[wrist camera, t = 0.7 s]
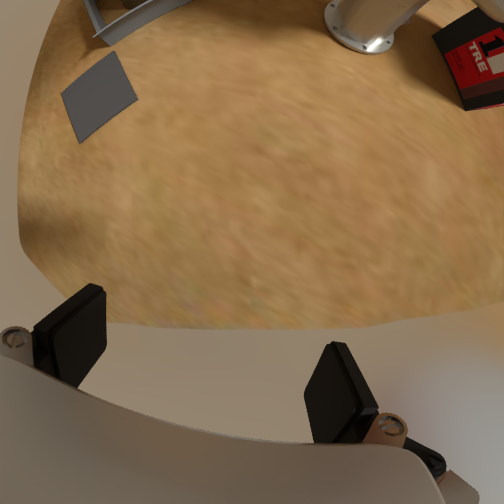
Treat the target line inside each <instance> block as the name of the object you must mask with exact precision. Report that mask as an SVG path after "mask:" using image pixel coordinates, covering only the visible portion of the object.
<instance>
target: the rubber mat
mask: <svg viewBox="0 0 504 504" xmlns="http://www.w3.org/2000/svg"><path fill="white" fill-rule="evenodd" d="M61 94H62V97H63V100H64V103H65V106H66V109H67V112H68V115H69V117H70V120H71V123H72V125H73V128H74V131H75V133H76V136H77V138H78V141H79V143H82V142H83V141H84V140H86V139H87V138H88V137H89V136H90V135H91V134H93V133H94V132H95V131H96V130H98V129H99V128H100V127H101V126H103V125H104V124H105V123H106V122H108V121H109V120H110V119H112V118H113V117H114V116H116V115H117V114H118V113H120V112H121V111H123V110H124V109H125V108H127V107H128V106H130V105H131V104H132V103H134V102H135V101H137V100H138V98H137V96H136V94H135V92H134V90H133V88H132V86H131V84H130V82H129V80H128V78H127V76H126V74H125V72H124V70H123V67H122V65H121V63H120V61H119V59H118V57H117V55H116V53H115V51H112V52H111V53H110V54H108V55H107V56H105V57H104V58H103V59H101V60H100V61H99V62H97V63H96V64H95V65H93V66H92V67H91V68H90V69H88V70H87V71H86V72H85V73H83V74H82V75H81V76H80V77H79V78H78V79H76V80H75V81H74V82H73V83H72V84H71V85H69V86H68V87H67V88H66V89H65V90H64V91H63V92H62V93H61Z"/></svg>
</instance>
